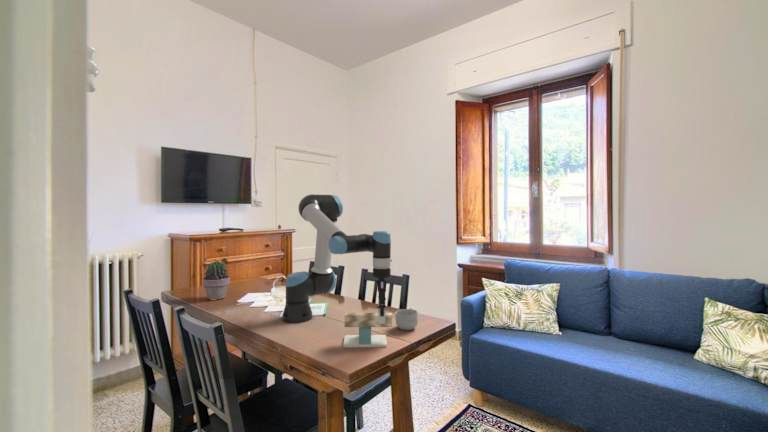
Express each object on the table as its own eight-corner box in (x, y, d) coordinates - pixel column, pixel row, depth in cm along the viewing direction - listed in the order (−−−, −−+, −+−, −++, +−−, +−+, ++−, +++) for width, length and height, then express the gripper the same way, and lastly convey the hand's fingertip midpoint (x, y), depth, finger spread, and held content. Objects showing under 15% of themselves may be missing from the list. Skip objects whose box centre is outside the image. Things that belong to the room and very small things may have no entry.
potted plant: (191, 302, 210) (191, 261, 210) (212, 294, 230) (212, 256, 229) (218, 303, 207) (218, 262, 207) (237, 295, 227) (237, 257, 226)
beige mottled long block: (344, 327, 146) (344, 315, 146) (345, 324, 150) (345, 312, 150) (391, 327, 147) (392, 315, 147) (391, 324, 150) (391, 312, 150)
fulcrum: (343, 347, 143) (343, 330, 143) (345, 337, 154) (345, 321, 154) (386, 346, 143) (386, 330, 143) (385, 337, 154) (385, 321, 154)
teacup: (411, 333, 158) (411, 316, 158) (390, 329, 164) (390, 312, 164) (424, 325, 170) (424, 308, 170) (404, 321, 176) (404, 305, 176)
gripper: (391, 272, 137) (391, 328, 137) (389, 263, 159) (389, 311, 160) (372, 272, 137) (372, 328, 137) (372, 263, 159) (372, 311, 160)
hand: (381, 319), depth 148 cm, fingers open, 10 cm apart
